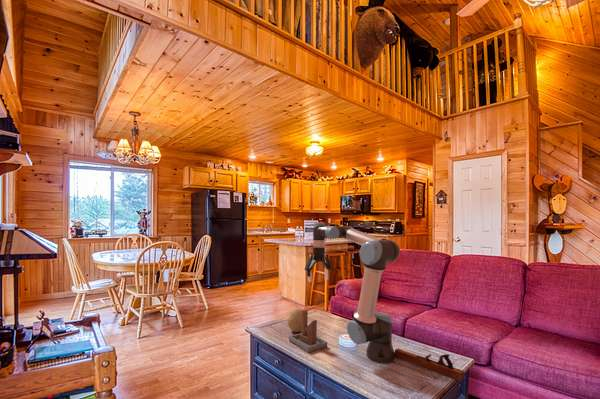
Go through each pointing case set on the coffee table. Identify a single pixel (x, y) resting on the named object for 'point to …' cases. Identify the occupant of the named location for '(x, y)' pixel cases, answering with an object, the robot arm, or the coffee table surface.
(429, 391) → the coffee table surface
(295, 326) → the fossilized egg
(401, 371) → the coffee table surface
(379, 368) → the coffee table surface
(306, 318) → the brown wooden piece
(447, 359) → the hand plane
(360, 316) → the robot arm
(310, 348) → the tray
